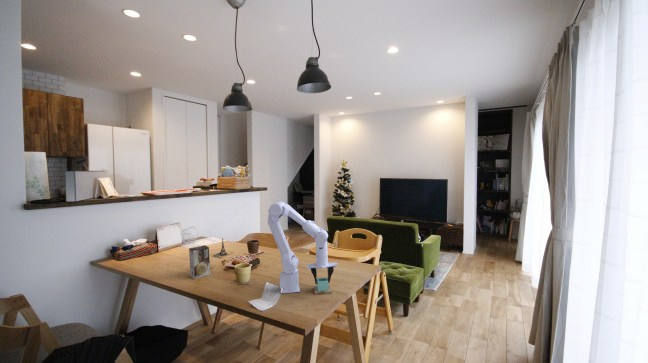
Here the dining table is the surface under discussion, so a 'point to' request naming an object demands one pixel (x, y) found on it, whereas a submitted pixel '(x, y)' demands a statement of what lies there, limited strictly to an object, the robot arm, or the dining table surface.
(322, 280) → the teal hollow block
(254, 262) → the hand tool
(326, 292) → the pin plate
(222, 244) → the eiffel tower figurine
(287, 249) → the robot arm
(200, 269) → the coffee box
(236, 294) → the dining table surface
